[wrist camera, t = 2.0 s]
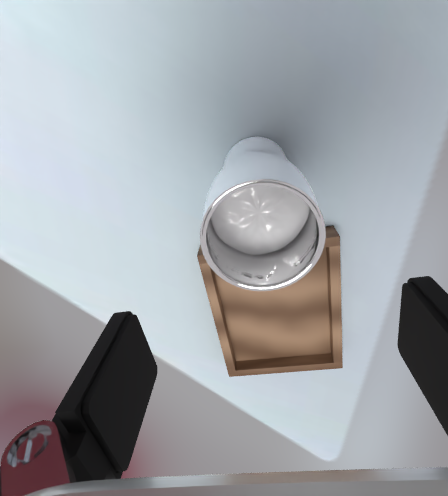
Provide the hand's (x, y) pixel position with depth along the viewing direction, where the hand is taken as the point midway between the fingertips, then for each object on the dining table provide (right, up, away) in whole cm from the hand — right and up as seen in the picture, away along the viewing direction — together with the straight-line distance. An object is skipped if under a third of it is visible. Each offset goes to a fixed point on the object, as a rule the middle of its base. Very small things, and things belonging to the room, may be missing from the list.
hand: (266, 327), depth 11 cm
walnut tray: (+4, -4, +25) cm, 26 cm away
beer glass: (+1, +10, +18) cm, 21 cm away
